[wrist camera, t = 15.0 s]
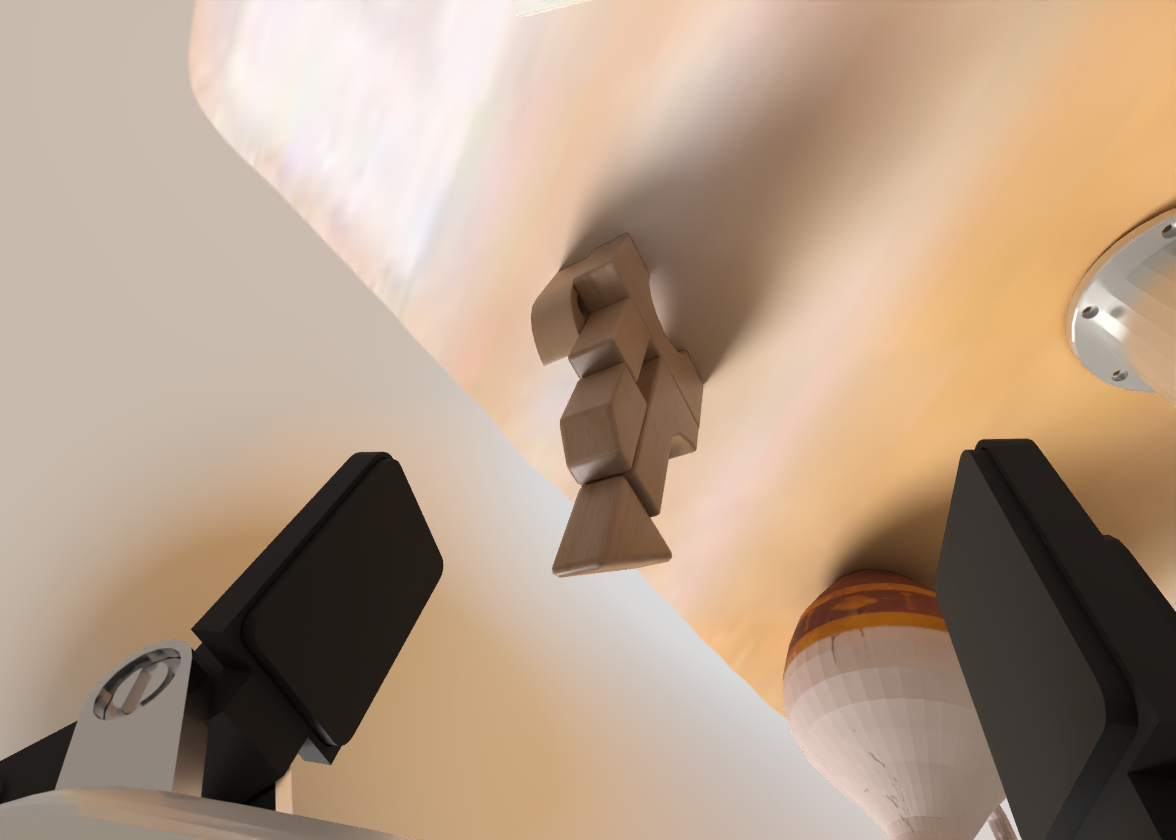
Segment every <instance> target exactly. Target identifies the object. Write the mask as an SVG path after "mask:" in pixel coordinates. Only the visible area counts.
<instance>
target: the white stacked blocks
mask: <svg viewBox="0 0 1176 840" xmlns="http://www.w3.org/2000/svg"><path fill="white" fill-rule="evenodd" d="M513 1H514V6H515V11H516V16H517V17H519V18H523V17H527V16H531V15H535V14H539V13H543V12H547V11H551V10H555V9H558V8H562V7H566V6H570V5H574V4H578V3H582V2H586V1H590V0H513Z"/></svg>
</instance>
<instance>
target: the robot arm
mask: <svg viewBox="0 0 1176 840" xmlns="http://www.w3.org/2000/svg"><path fill="white" fill-rule="evenodd" d="M1165 227H1166V228H1165ZM1164 228H1165V229H1164ZM1066 334H1067V340H1068V344H1069V346H1070V348H1071V350H1072V352H1073V354H1074V356H1075V358H1076V359H1077V360H1078V361H1079V362H1080V363H1081V364H1082V365H1083V366H1084V368H1085V369H1087V370H1088V371H1089V372H1090V373H1091V374H1093V375H1094V376H1095V377H1096V378H1098V379H1099V380H1101V381H1103V382H1105V383H1107V384H1109V385H1112V386H1115V387H1118V388H1122V389H1126V390H1130V391H1137V392H1147V393H1158V394H1159V395H1161V396H1162V397H1163V398H1164V399H1165V400H1167V401H1168V402H1169V403H1170V404H1171V405H1172V406H1174V407H1175V408H1176V208H1174V209H1171V210H1169V211H1166V212H1164V213H1162V214H1160V215H1158V216H1157V217H1155V218H1153V219H1151V220H1149V221H1147V222H1145V223H1144V224H1142V225H1140V226H1138V227H1137V228H1135V229H1134V230H1133V231H1131V232H1130V233H1128V234H1127V235H1126V236H1124V237H1123V238H1121V239H1120V240H1119V241H1117V242H1116V243H1115V244H1114V245H1113V246H1112V247H1111V248H1109V249H1108V250H1107V251H1106V252H1105V253H1104V254H1103V255H1102V256H1101V257H1100V258H1099V259H1098V260H1097V261H1096V262H1095V263H1094V265H1093V266H1092V267H1091V268H1090V270H1089V271H1088V272H1087V273H1086V274H1085V276H1084V277H1083V279H1082V280H1081V282H1080V284H1079V286H1078V287H1077V289H1076V291H1075V293H1074V294H1073V297H1072V300H1071V303H1070V306H1069V309H1068V312H1067V320H1066ZM442 572H443V559H442V556H441V554H440V552H439V550H438V547H437V545H436V543H435V541H434V539H433V536H432V534H431V532H430V530H429V527H428V525H427V523H426V521H425V519H424V516H423V514H422V512H421V510H420V508H419V505H418V503H417V501H416V498H415V496H414V494H413V492H412V490H411V487H410V485H409V483H408V481H407V479H406V476H405V474H404V472H403V470H402V467H401V465H400V464H399V462H398V461H396V460H394V459H393V458H392V456H391V455H390V454H388V453H386V452H359V453H355V454H354V455H352V456H351V457H350V458H349V459H348V460H347V461H346V462H345V463H344V464H343V466H342V467H341V468H340V469H339V470H338V471H337V472H336V473H335V474H334V475H333V476H332V478H330V480H329V481H328V482H327V483H326V484H325V485H324V486H323V487H322V488H321V489H320V490H319V492H318V493H317V494H316V495H315V496H314V497H313V498H312V499H311V500H310V501H309V502H308V503H307V504H306V506H305V507H304V508H303V509H302V510H301V511H300V512H299V513H298V514H297V515H296V516H295V517H294V518H293V520H292V521H291V522H290V523H289V524H288V525H287V526H286V527H285V528H284V529H283V530H282V531H281V533H280V534H279V535H278V536H277V537H276V538H275V539H274V540H273V541H272V542H271V543H270V544H269V545H268V547H267V548H266V549H265V550H264V551H263V552H262V553H261V554H260V555H259V556H258V557H257V558H256V560H255V561H254V562H253V563H252V564H251V565H250V566H249V567H248V568H247V569H246V570H245V572H243V574H242V575H241V576H240V577H239V578H238V579H237V580H236V581H235V582H234V583H233V584H232V585H231V587H230V588H229V589H228V590H227V591H226V592H225V593H224V594H223V595H222V596H221V597H220V598H219V599H218V601H217V602H216V603H215V604H214V605H213V606H212V607H211V608H210V609H209V610H208V611H207V613H206V614H205V615H204V616H203V617H202V618H201V619H200V620H199V621H198V622H197V623H196V624H195V626H194V627H193V628H192V629H191V630H192V631H193V632H194V633H195V635H196V636H197V637H198V638H199V639H200V640H201V641H202V644H201V645H200V646H199V647H198V648H197V649H196V650H195V651H194V650H193V649H192V648H191V647H190V646H189V645H188V644H187V642H185V641H181V640H177V639H174V640H166V641H161V642H158V643H156V644H152V645H150V646H147V647H146V648H144V649H142V650H140V651H138V652H136V653H134V654H132V655H131V656H129V657H128V658H126V659H125V660H123V661H122V662H121V663H119V664H118V665H117V666H115V667H114V668H113V669H112V670H111V671H110V672H109V673H108V674H106V675H105V676H104V677H103V678H102V679H101V680H100V681H99V682H98V684H97V685H96V686H95V687H94V689H93V690H92V691H91V692H90V694H89V695H88V697H87V699H86V701H85V703H84V705H83V707H82V709H81V712H80V715H79V718H78V721H76V722H74V723H72V724H70V725H68V726H67V727H64V728H63V729H61V730H59V731H57V732H55V733H53V734H51V735H49V736H47V737H45V738H44V739H42V740H40V741H38V742H36V743H34V744H32V745H30V746H28V747H26V748H24V749H23V750H21V751H19V752H17V753H15V754H13V755H11V756H9V757H7V758H5V759H3V760H1V761H0V840H419V839H414V838H409V837H404V836H399V835H394V834H389V833H384V832H379V831H374V830H369V829H364V828H359V827H354V826H349V825H344V824H339V823H334V822H329V821H323V820H318V819H313V818H308V817H303V816H298V815H293V812H292V780H291V763H292V762H293V760H294V758H295V757H296V755H297V754H299V755H300V756H301V757H302V758H303V760H304V761H310V762H316V763H322V764H328V765H331V764H332V762H333V760H334V759H335V757H336V755H337V753H338V751H339V750H340V748H341V746H343V745H345V744H347V743H348V742H349V741H350V740H351V738H352V737H353V735H354V733H355V732H356V730H357V728H358V726H359V724H360V723H361V721H362V719H363V717H364V715H365V713H366V712H367V710H368V708H369V706H370V704H371V703H372V701H373V699H374V697H375V695H376V694H377V692H378V690H379V688H380V686H381V684H382V683H383V681H384V679H385V677H386V676H387V674H388V672H389V670H390V668H391V666H392V665H393V663H394V661H395V659H396V657H397V656H398V654H399V652H400V650H401V648H402V646H403V645H404V643H405V641H406V639H407V637H408V636H409V634H410V632H411V630H412V628H413V627H414V625H415V623H416V621H417V619H418V618H419V615H420V614H421V612H422V610H423V608H424V607H425V605H426V603H427V601H428V599H429V598H430V596H431V594H432V592H433V590H434V589H435V587H436V585H437V583H438V581H439V579H440V577H441V575H442ZM935 590H936V597H937V601H938V604H939V607H940V610H941V613H942V616H943V619H944V621H945V624H946V627H947V630H948V633H949V636H950V638H951V641H952V644H953V647H954V650H955V653H956V655H957V658H958V661H959V664H960V667H961V670H962V672H963V675H964V678H965V681H966V684H967V687H968V689H969V692H970V695H971V698H972V701H973V704H974V706H975V709H976V712H977V715H978V718H979V721H980V723H981V726H982V729H983V732H984V735H985V738H986V740H987V743H988V746H989V749H990V752H991V755H992V757H993V760H994V763H995V766H996V769H997V772H998V774H999V777H1000V780H1001V783H1002V786H1003V789H1004V791H1005V794H1006V797H1007V800H1008V803H1009V806H1010V808H1011V811H1012V814H1013V817H1014V820H1015V823H1016V825H1017V828H1018V831H1019V834H1020V836H1021V838H1022V840H1176V612H1175V610H1174V609H1173V608H1172V606H1171V605H1170V604H1169V602H1168V601H1167V600H1166V598H1165V597H1164V596H1163V594H1162V593H1161V592H1160V590H1159V589H1158V588H1157V587H1156V585H1155V584H1154V583H1153V581H1152V580H1151V579H1150V577H1149V576H1148V575H1147V573H1146V572H1145V571H1144V569H1143V568H1142V567H1141V566H1140V564H1139V563H1138V562H1137V560H1136V559H1135V558H1134V556H1133V555H1132V554H1131V552H1130V551H1129V550H1128V549H1127V548H1126V547H1125V546H1124V545H1123V544H1122V543H1121V542H1120V541H1119V540H1118V539H1116V538H1114V537H1112V536H1110V535H1102V534H1101V532H1100V531H1099V530H1098V528H1097V527H1096V526H1095V524H1094V523H1093V521H1092V520H1091V519H1090V517H1089V516H1088V515H1087V513H1086V512H1085V511H1084V509H1083V508H1082V506H1081V505H1080V504H1079V502H1078V501H1077V500H1076V498H1075V497H1074V495H1073V494H1072V493H1071V491H1070V490H1069V489H1068V487H1067V486H1066V485H1065V483H1064V482H1063V480H1062V479H1061V478H1060V476H1059V475H1058V474H1057V472H1056V471H1055V470H1054V468H1053V467H1052V465H1051V464H1050V463H1049V461H1048V460H1047V459H1046V457H1045V456H1044V454H1043V453H1042V452H1041V450H1040V449H1039V448H1038V446H1037V445H1036V444H1035V443H1034V442H1033V441H1032V440H1030V439H983V440H980V441H979V442H978V443H977V445H976V447H975V450H965V451H963V453H962V454H961V457H960V461H959V466H958V471H957V476H956V481H955V486H954V490H953V495H952V500H951V505H950V510H949V515H948V520H947V524H946V529H945V534H944V539H943V544H942V549H941V554H940V558H939V563H938V568H937V573H936V579H935Z"/></svg>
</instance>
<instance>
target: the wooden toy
mask: <svg viewBox="0 0 1176 840" xmlns="http://www.w3.org/2000/svg"><path fill="white" fill-rule="evenodd" d="M531 325H532V332H533V336H534V341H535V344H536V347H537V350H538V354H539V356H540V359H541V361H542V363H543V365H547V364H549V363H552V362H554V361H556V360H559V359H561V358H564V357H566V356H568V359H569V362H570V363H571V365H572V367H573V368H574V370H575V372H576V373H577V375H578V377H579V378H580V380H579V381H578V382H577V385H576V387H575V389H574V391H573V393H572V395H571V398H570V400H569V402H568V404H567V406H566V408H565V411H564V413H563V415H562V417H561V419H560V429H561V435H562V441H563V447H564V453H565V458H566V464H567V467H568V469H569V471H570V472H571V474H572V475H573V477H574V479H575V480H576V482H577V483H578V484H580V485H582V486H581V487H582V488H581V489H580V490H579V493H578V496H577V498H576V501H575V504H574V507H573V510H572V513H571V516H570V519H569V521H568V524H567V527H566V530H565V533H564V536H563V539H562V541H561V544H560V547H559V550H558V553H557V555H556V558H555V561H554V564H553V567H552V571H553V574H554V575H556V576H558V577H568V576H576V575H585V574H592V573H601V572H610V571H618V570H626V569H634V568H640V567H644V566H649V565H654V564H659V563H664V562H668V561H669V560H670V559H671V558H672V553H671V551H670V549H669V547H668V546H667V544H666V542H665V541H664V539H663V538H662V536H661V534H660V533H659V531H658V529H657V528H656V526H655V525H654V523H653V521H652V520H651V518H650V517H653V516H657V515H658V514H659V513H660V509H661V503H662V497H663V491H664V485H665V478H666V472H667V466H668V460H669V459H671V458H675V457H678V456H681V455H685V454H688V453H692V452H694V451H696V448H697V439H698V428H699V424H700V414H701V404H702V394H703V383H702V381H701V379H700V377H699V375H698V373H697V371H696V369H695V367H694V365H693V363H692V361H691V358H690V356H689V354H688V352H687V351H686V350H683V351H680V352H677V351H676V350H675V348H674V347H673V346H672V345H671V343H670V341H669V339H668V338H667V336H666V334H665V333H664V330H663V328H662V326H661V323H660V321H659V319H658V317H657V314H656V311H655V308H654V305H653V301H652V298H651V293H650V287H649V273H648V271H647V269H646V267H645V265H644V263H643V261H642V259H641V257H640V255H639V253H638V251H637V249H636V247H635V245H634V243H633V241H632V239H631V237H630V235H629V234H624V235H622V236H620V237H618V238H616V239H614V240H612V241H610V242H608V243H606V244H604V245H602V246H600V247H598V248H596V249H594V250H593V251H592V252H591V253H590V255H589V256H588V257H587V258H585V259H583V260H581V261H579V262H577V263H575V264H573V265H571V266H569V267H567V268H565V269H563V270H561V271H559V272H558V273H557V274H556V275H555V276H554V278H553V279H552V280H551V281H550V282H549V284H548V285H547V286H546V288H545V289H544V290H543V291H542V293H541V294H540V295H539V296H538V298H537V299H536V301H535V303H534V305H533V307H532V313H531Z"/></svg>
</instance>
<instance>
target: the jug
mask: <svg viewBox="0 0 1176 840" xmlns="http://www.w3.org/2000/svg"><path fill="white" fill-rule="evenodd" d="M783 702H784V708H785V712H786V716H787V719H788V723H789V726H790V730H791V732H792V735H793V737H794V739H795V740H796V742H797V743H798V745H799V746H800V748H801V749H802V751H803V752H804V754H805V755H806V757H807V758H808V760H809V761H810V762H811V764H812V765H813V767H815V769H817V770H818V771H819V772H820V773H821V774H822V775H823V776H824V777H825V778H826V779H827V780H828V781H830V782H831V783H832V784H833V785H834V786H835V787H836V788H837V789H838V790H840V791H841V792H842V793H843V794H845V795H846V796H847V797H848V798H850V799H851V800H852V801H853V802H855V803H856V804H857V805H858V806H859V807H860V808H861V809H862V810H863V811H864V812H865V813H866V814H867V815H868V816H869V817H871V818H872V819H873V820H874V821H875V822H876V823H877V824H878V825H879V826H880V827H881V828H882V829H883V830H884V831H885V832H886V833H887V834H888V835H889V837H890V839H891V840H973V839H974V838H975V836H976V835H977V834H978V832H979V830H980V829H981V828H982V826H983V825H984V823H985V822H986V821H988V823H989V825H990V827H991V830H992V832H993V834H994V836H995V838H996V840H1017V837H1016V835H1015V833H1014V831H1013V829H1012V827H1011V825H1010V822H1009V820H1008V818H1007V816H1006V815H1005V813H1004V811H1003V810H1002V808H1001V806H1000V804H1001V803H1002V801H1004V800H1005V798H1006V794H1005V791H1004V789H1003V786H1002V783H1001V780H1000V777H999V774H998V772H997V769H996V766H995V763H994V760H993V757H992V755H991V752H990V749H989V746H988V743H987V740H986V738H985V735H984V732H983V729H982V726H981V723H980V721H979V718H978V715H977V712H976V709H975V706H974V704H973V701H972V698H971V695H970V692H969V689H968V687H967V684H966V681H965V678H964V675H963V672H962V670H961V667H960V664H959V661H958V658H957V655H956V653H955V650H954V647H953V644H952V641H951V638H950V636H949V633H948V630H947V627H946V624H945V621H944V619H943V616H942V613H941V610H940V607H939V604H938V601H937V597H936V592H935V591H933V590H931V589H929V588H927V587H926V586H923V585H921V584H919V583H917V582H915V581H912V580H910V579H908V578H905V577H903V576H901V575H898V574H896V573H892V572H888V571H883V570H864V571H858V572H854V573H851V574H848V575H846V576H844V577H842V578H840V579H839V580H837V581H836V582H835V583H834V584H832V585H831V586H830V587H829V588H828V589H826V590H825V591H824V592H823V593H822V594H821V595H820V596H819V597H818V598H817V599H816V600H815V601H814V602H813V603H812V604H811V605H810V606H809V607H808V608H807V609H806V611H805V612H804V613H803V615H802V616H801V618H800V620H799V622H798V625H797V627H796V630H795V632H794V634H793V637H792V639H791V642H790V644H789V649H788V654H787V659H786V664H785V669H784V675H783Z"/></svg>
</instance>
